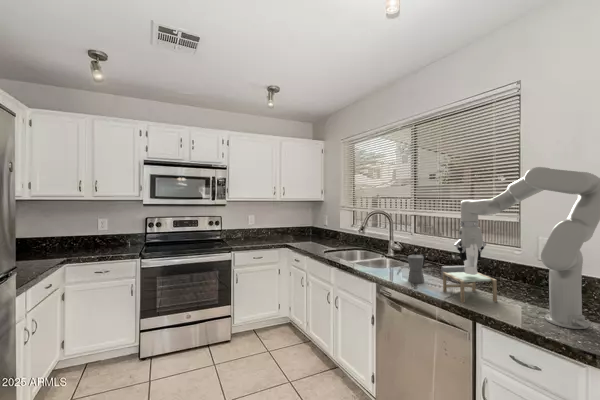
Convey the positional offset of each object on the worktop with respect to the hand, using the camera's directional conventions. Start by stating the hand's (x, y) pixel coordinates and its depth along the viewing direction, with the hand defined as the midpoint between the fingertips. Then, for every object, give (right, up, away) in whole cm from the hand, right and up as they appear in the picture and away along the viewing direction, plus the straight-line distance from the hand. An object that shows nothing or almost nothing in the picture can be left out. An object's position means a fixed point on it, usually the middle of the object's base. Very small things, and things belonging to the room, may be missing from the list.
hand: (470, 259), depth 145 cm
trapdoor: (0, -12, +5) cm, 13 cm away
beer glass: (0, -7, 0) cm, 7 cm away
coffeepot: (-14, -20, +31) cm, 39 cm away
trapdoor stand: (0, -19, +2) cm, 19 cm away
